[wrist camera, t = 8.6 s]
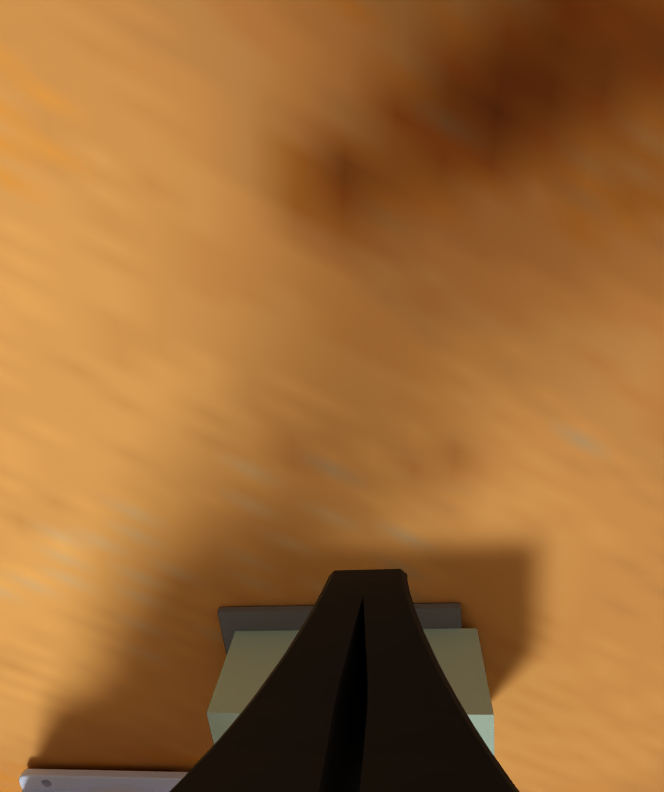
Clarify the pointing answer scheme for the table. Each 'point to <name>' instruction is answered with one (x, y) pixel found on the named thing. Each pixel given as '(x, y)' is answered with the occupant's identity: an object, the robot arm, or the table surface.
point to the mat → (296, 615)
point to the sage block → (264, 649)
